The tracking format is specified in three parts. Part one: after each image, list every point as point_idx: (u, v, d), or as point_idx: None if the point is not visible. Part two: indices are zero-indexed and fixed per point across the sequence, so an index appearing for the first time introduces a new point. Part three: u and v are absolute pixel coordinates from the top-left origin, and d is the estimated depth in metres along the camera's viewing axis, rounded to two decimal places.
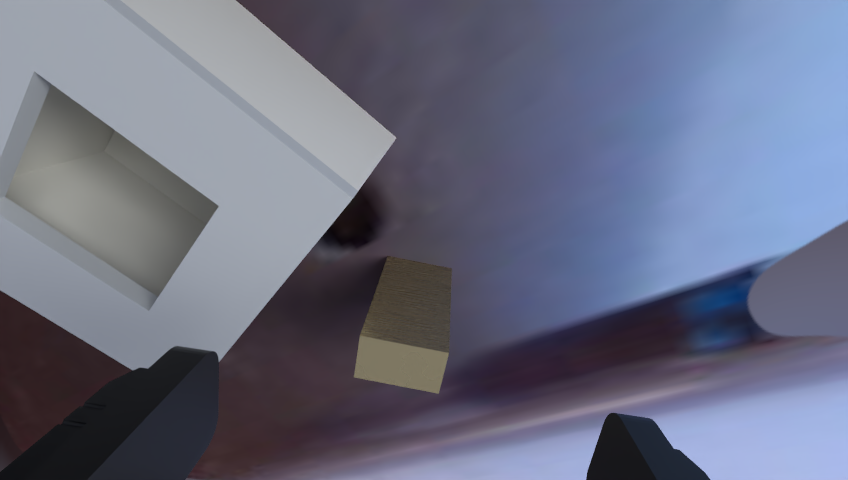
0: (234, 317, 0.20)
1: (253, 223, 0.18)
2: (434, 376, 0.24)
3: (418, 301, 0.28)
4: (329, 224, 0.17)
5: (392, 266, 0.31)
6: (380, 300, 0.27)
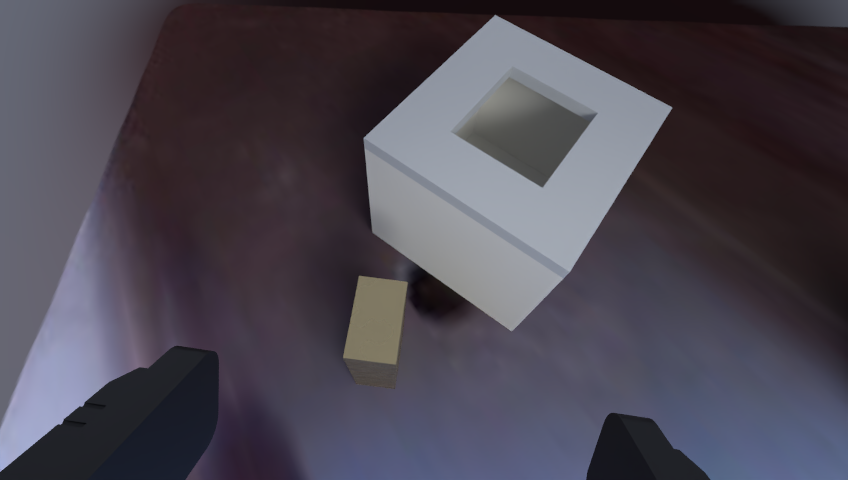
0: (454, 184, 0.26)
1: (534, 206, 0.26)
2: (364, 352, 0.24)
3: None
4: (545, 255, 0.24)
5: None
6: None
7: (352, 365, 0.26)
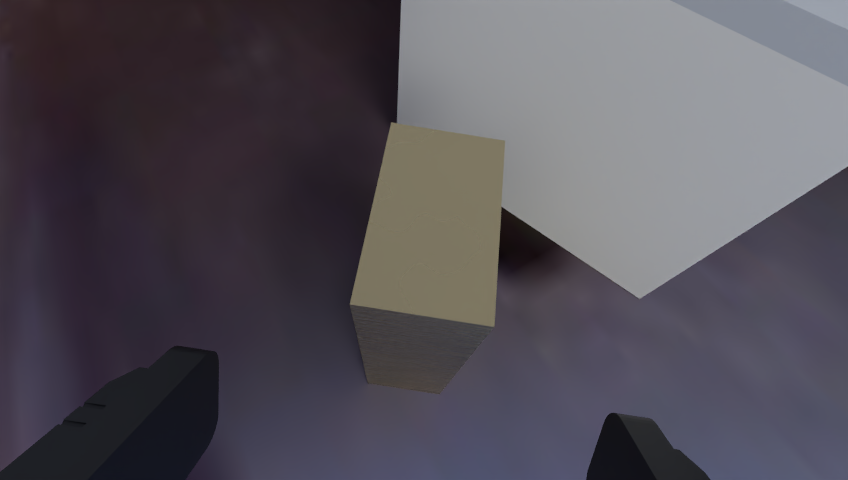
0: None
1: None
2: (408, 291, 0.09)
3: None
4: None
5: None
6: None
7: (370, 333, 0.11)
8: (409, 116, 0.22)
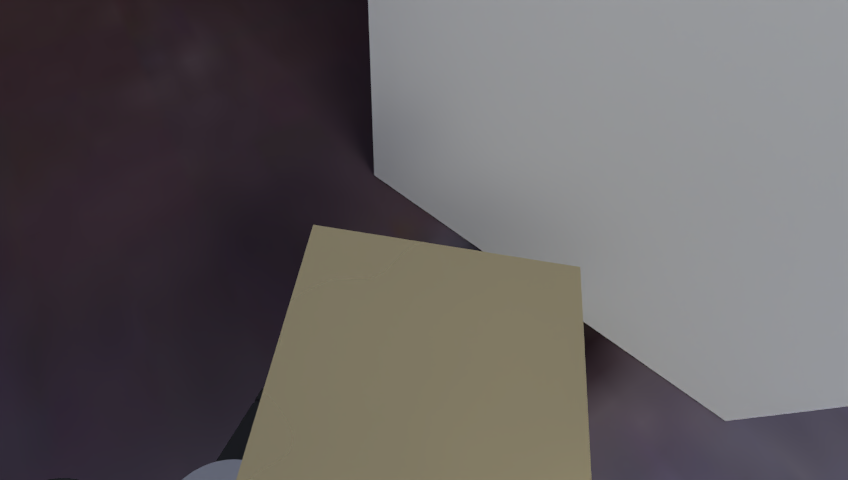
0: None
1: None
2: None
3: None
4: None
5: None
6: None
7: None
8: (389, 152, 0.15)
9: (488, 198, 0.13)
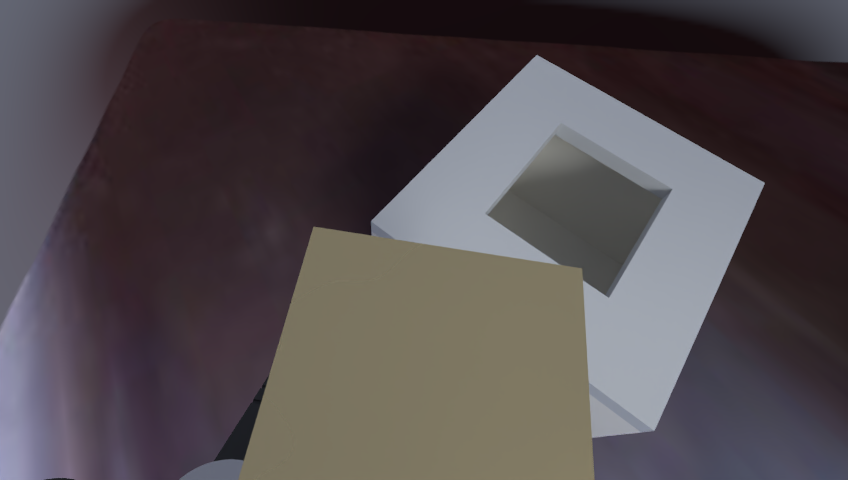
0: None
1: (600, 327, 0.19)
2: None
3: None
4: (619, 404, 0.17)
5: None
6: None
7: None
8: None
9: None
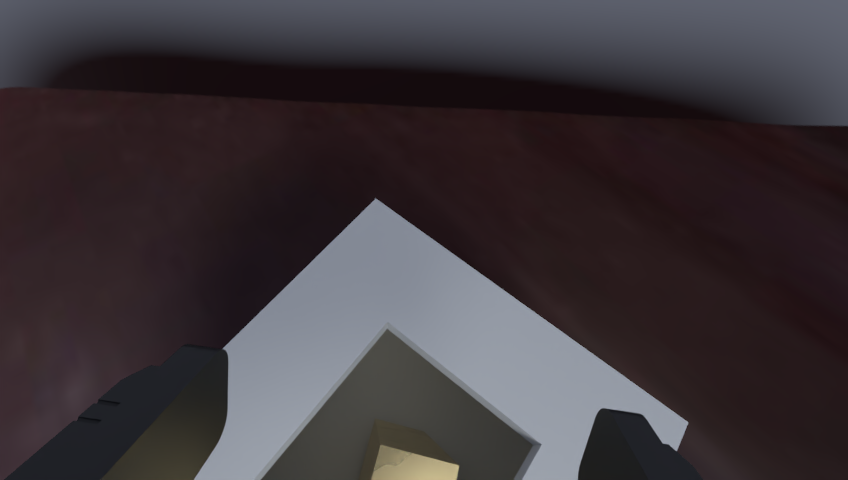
0: None
1: None
2: None
3: None
4: None
5: None
6: None
7: None
8: None
9: None
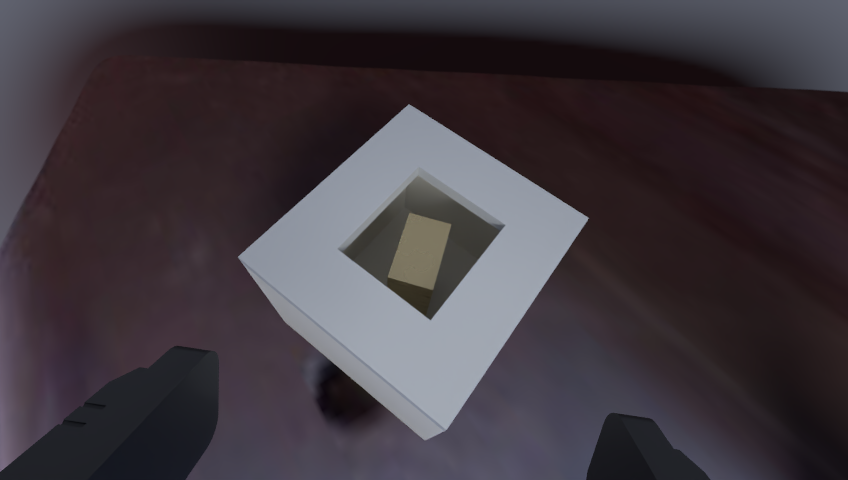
0: (331, 316, 0.23)
1: (418, 345, 0.23)
2: (407, 275, 0.27)
3: None
4: (422, 408, 0.22)
5: None
6: None
7: (392, 290, 0.29)
8: (286, 320, 0.34)
9: (321, 348, 0.32)
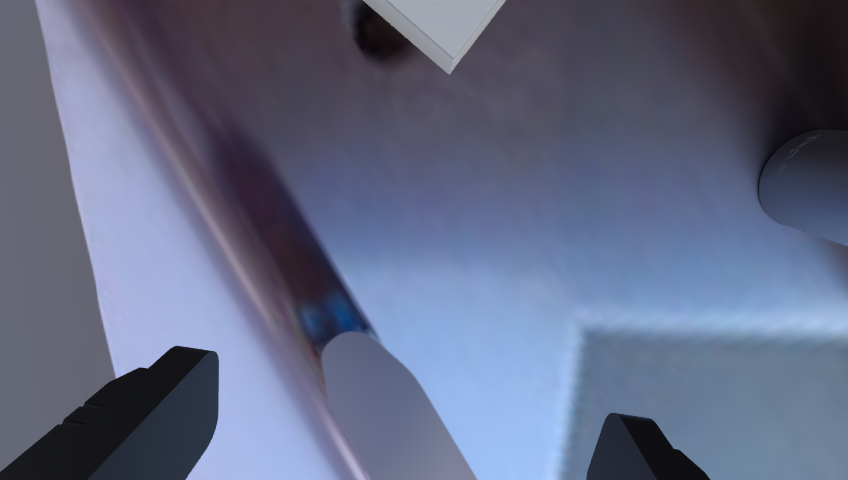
0: None
1: None
2: None
3: None
4: (434, 40, 0.26)
5: None
6: None
7: None
8: None
9: None
